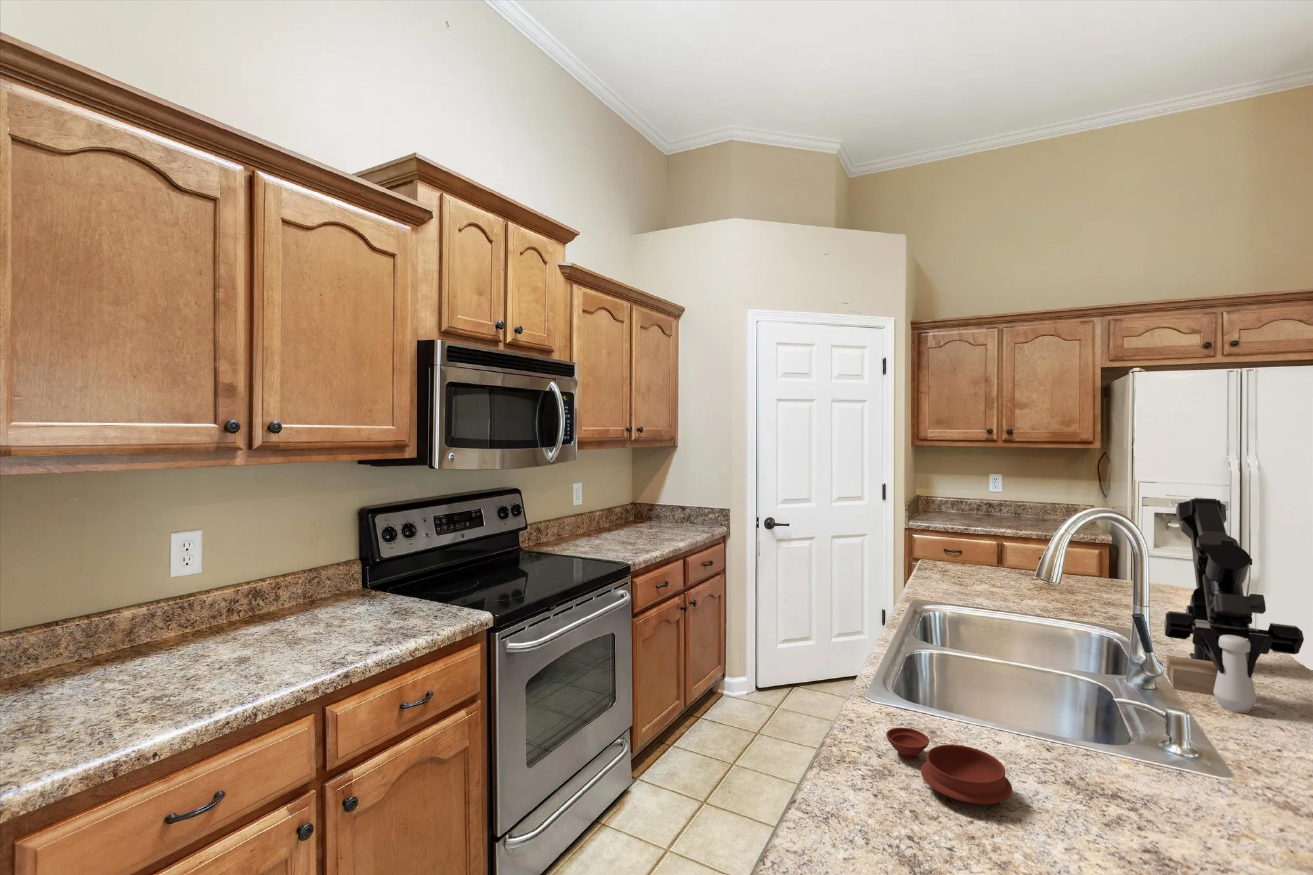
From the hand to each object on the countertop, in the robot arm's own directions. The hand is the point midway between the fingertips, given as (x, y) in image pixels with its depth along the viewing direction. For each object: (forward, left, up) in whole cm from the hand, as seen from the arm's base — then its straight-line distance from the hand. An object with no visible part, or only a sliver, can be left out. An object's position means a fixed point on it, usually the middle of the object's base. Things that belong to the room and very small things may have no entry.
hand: (1235, 674), depth 112 cm
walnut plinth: (-10, -4, -7) cm, 13 cm away
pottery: (+48, -42, -7) cm, 65 cm away
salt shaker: (-1, 0, -7) cm, 7 cm away
